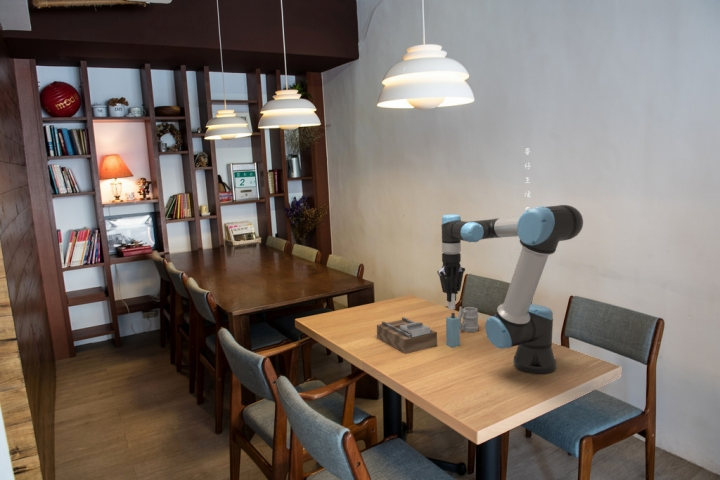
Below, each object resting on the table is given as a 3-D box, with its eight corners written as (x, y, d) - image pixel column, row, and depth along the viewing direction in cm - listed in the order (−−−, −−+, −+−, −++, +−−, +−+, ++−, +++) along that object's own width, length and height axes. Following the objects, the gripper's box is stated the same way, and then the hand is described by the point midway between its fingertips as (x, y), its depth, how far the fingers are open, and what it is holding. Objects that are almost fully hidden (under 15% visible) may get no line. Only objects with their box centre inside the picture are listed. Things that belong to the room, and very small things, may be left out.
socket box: (436, 346, 219) (436, 329, 218) (405, 353, 211) (405, 336, 210) (407, 331, 238) (407, 316, 237) (377, 338, 230) (376, 322, 229)
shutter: (430, 333, 216) (430, 325, 216) (412, 337, 212) (412, 329, 211) (417, 327, 224) (417, 319, 223) (399, 331, 220) (399, 323, 219)
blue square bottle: (459, 346, 218) (459, 313, 216) (452, 347, 216) (452, 315, 214) (453, 343, 222) (453, 311, 220) (446, 345, 220) (446, 312, 218)
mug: (482, 330, 237) (482, 304, 235) (463, 335, 230) (463, 309, 228) (470, 326, 243) (470, 301, 241) (451, 331, 237) (451, 305, 235)
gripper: (457, 249, 219) (457, 304, 223) (432, 253, 213) (433, 309, 216) (469, 252, 213) (469, 308, 216) (444, 255, 206) (444, 313, 210)
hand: (451, 308), depth 216 cm, fingers closed
